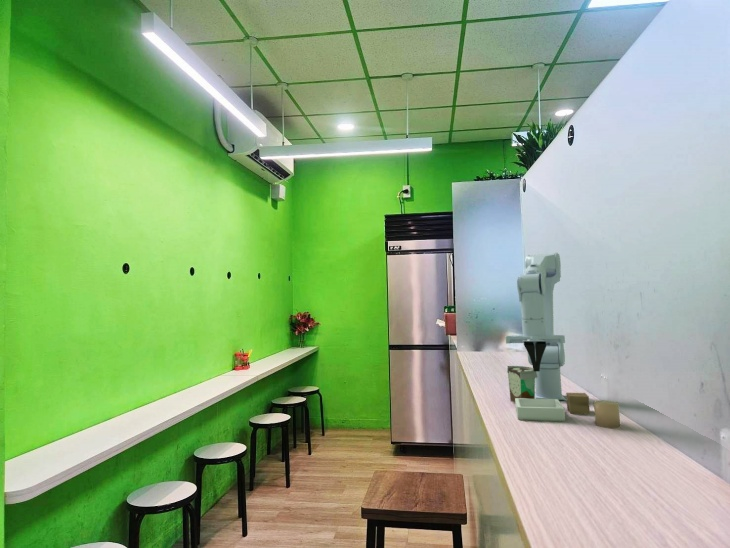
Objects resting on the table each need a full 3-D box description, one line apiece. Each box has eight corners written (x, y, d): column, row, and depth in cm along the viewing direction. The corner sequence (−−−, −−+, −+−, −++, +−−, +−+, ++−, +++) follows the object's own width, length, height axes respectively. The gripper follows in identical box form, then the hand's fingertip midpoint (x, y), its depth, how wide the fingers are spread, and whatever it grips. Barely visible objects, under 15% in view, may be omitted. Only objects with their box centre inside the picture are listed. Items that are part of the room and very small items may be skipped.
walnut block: (567, 409, 115) (566, 392, 115) (586, 410, 114) (584, 392, 114) (570, 414, 111) (569, 396, 111) (589, 414, 109) (588, 396, 110)
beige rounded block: (593, 421, 103) (591, 400, 103) (616, 422, 101) (615, 400, 102) (598, 427, 98) (596, 405, 98) (623, 428, 97) (621, 405, 97)
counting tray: (515, 409, 117) (514, 398, 117) (558, 410, 114) (557, 399, 114) (518, 419, 106) (517, 407, 107) (565, 421, 104) (564, 408, 104)
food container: (546, 409, 116) (543, 371, 117) (523, 410, 116) (520, 371, 117) (529, 399, 128) (527, 365, 129) (508, 400, 128) (506, 365, 129)
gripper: (504, 320, 114) (507, 372, 113) (565, 318, 110) (568, 373, 109) (504, 319, 121) (507, 369, 120) (561, 317, 117) (564, 369, 115)
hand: (536, 370), depth 115 cm, fingers closed
